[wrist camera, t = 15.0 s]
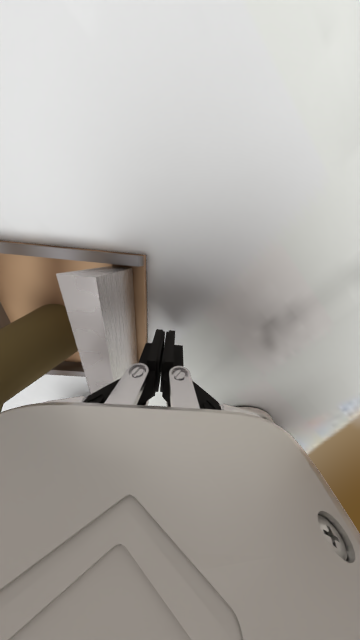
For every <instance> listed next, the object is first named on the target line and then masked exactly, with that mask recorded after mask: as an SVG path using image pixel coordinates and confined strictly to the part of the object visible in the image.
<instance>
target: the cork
mask: <svg viewBox="0 0 360 640" xmlns="http://www.w3.org/2000/svg"><path fill="white" fill-rule="evenodd" d="M77 351H78V348H77V345H76V342H75V338H74V335H73V331H72V328H71V324H70V321H69V317H68V314H67V311H66V307H65V306H63V305H60V304H47V305H44V306H41V307H39V308H37V309H36V310H34V311H32V312H30V313H28V314H26V315H25V316H23V317H21V318H19V319H17V320H15V321H14V322H12V323H10V324H8V325H6V326H4V327H3V328H1V329H0V412H1V410H2V407H3V404H4V403H5V402H6V401H7V400H9V399H10V398H12V397H13V396H15V395H16V394H17V393H19V392H20V391H22V390H23V389H25V388H26V387H27V386H29V385H30V384H32V383H33V382H35V381H36V380H37V379H39V378H40V377H42V376H43V375H45V374H46V373H47V372H49V371H50V370H52V369H53V368H55V367H56V366H57V365H59V364H60V363H62V362H63V361H65V360H66V359H67V358H69V357H70V356H72V355H73V354H75V353H76V352H77Z"/></svg>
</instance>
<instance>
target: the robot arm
mask: <svg viewBox="0 0 360 640" xmlns="http://www.w3.org/2000/svg"><path fill="white" fill-rule="evenodd" d="M164 339H165V332H164V331H163V330H159V329H157V330H156V333H155V336H154V339H153V342H152V343H146V344H145V346H144V349H143V352H142V354H141V357H140V359H139V362H138V363H135V364H133V365H131V366H129V367H128V369H127V370H126V371H125V373H124V374H123V376H122V377H121V378H120V379H118V380H116V381H114V382H112V383H111V384H109V385H107V386H105V387H103V388H101V389H99V390H98V391H96V392H94V393H92V394H91V395H89V396H88V397H85V398H84V396H79V397H72V398H66V399H59V400H52V401H47V402H43V403H36V404H30V405H25V406H21V407H17V408H13V409H9V410H6V411H3V412H1V413H0V640H360V534H359V532H358V531H357V529H356V527H355V526H354V524H353V523H352V521H351V520H350V518H349V516H348V515H347V513H346V511H345V510H344V508H343V507H342V506H341V504H340V502H339V501H338V500H337V498H336V496H335V495H334V493H333V492H332V490H331V489H330V487H329V486H328V484H327V483H326V481H325V480H324V478H323V476H322V475H321V474H320V472H319V471H318V469H317V468H316V466H315V465H314V463H313V462H312V461H311V459H310V458H309V456H308V455H307V454H306V452H305V451H304V450H303V448H302V447H301V446H300V445H299V443H298V442H297V441H296V440H295V439H294V438H293V437H292V436H291V435H290V434H289V433H288V432H287V431H286V430H284V429H283V428H281V427H280V426H278V425H277V424H275V423H274V421H273V420H272V418H271V416H270V415H269V414H268V413H267V412H265V411H263V410H261V409H258V408H253V407H233V406H230V405H226V404H223V405H220V404H219V403H218V402H217V401H216V400H215V399H214V398H213V397H211V396H210V395H209V394H208V393H207V392H205V391H204V390H203V389H202V388H201V387H199V386H198V385H197V384H196V383H195V382H193V381H192V378H191V375H190V372H189V370H188V369H187V368H185V367H183V346H180V345H174V342H175V331H171V330H169V332H167V333H166V339H165V345H164ZM160 376H161V387H160V392H163V394H162V397H163V398H164V399H165V400H166V401H167V407H162V406H147V405H148V402H149V399H150V398H152V397H153V396H155V391H156V392H158V389H159V383H160Z"/></svg>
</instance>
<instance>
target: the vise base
mask: <svg viewBox="0 0 360 640" xmlns="http://www.w3.org/2000/svg"><path fill="white" fill-rule="evenodd" d="M107 266H115V267H125V268H132V273H133V291H134V308H135V326H136V343H137V361H138V362H139V359H140V357H141V354H142V352H143V349H144V346H145V344H146V343H147V286H146V255H141V254H131V253H121V252H111V251H101V250H91V249H81V248H71V247H61V246H51V245H41V244H31V243H21V242H11V241H1V240H0V329H1V328H3V327H4V326H6V325H8V324H10V323H12V322H14V321H15V320H17V319H19V318H21V317H23V316H25V315H26V314H28V313H30V312H32V311H34V310H36V309H37V308H39V307H41V306H44V305H47V304H60V305H63V306H65V304H64V300H63V297H62V293H61V290H60V286H59V283H58V279H57V276H56V274H57V273H65V272H72V271H79V270H86V269H93V268H100V267H107ZM46 374H49V375H66V376H82V377H86V376H85V373H84V369H83V366H82V362H81V359H80V355H79V352H78V351H77V352H76V353H75V354H73V355H72V356H70V357H69V358H67V359H66V360H65V361H63V362H62V363H60V364H59V365H57V366H56V367H55V368H53V369H52V370H50V371H49V372H47V373H46Z"/></svg>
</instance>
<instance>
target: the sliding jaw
mask: <svg viewBox="0 0 360 640" xmlns="http://www.w3.org/2000/svg"><path fill="white" fill-rule="evenodd" d="M56 276H57V279H58V283H59V286H60V290H61V293H62V297H63V300H64V304H65V307H66V311H67V314H68V317H69V321H70V324H71V328H72V331H73V335H74V338H75V342H76V345H77V348H78V352H79V355H80V359H81V362H82V366H83V369H84V373H85V376H86V380H87V383H88V386H89V390H90V393H91V394H92V393H94V392H96V391H98V390H99V389H101V388H103V387H105V386H107V385H109V384H111V383H112V382H114V381H116V380H118V379H120V378H121V377H122V376H123V374H124V373H125V371H126V370H127V369H128V367H129V366H131V365H133V364H135V363H138V361H137V343H136V326H135V308H134V291H133V273H132V268H125V267H115V266H107V267H100V268H93V269H86V270H79V271H72V272H65V273H57V274H56Z"/></svg>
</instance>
